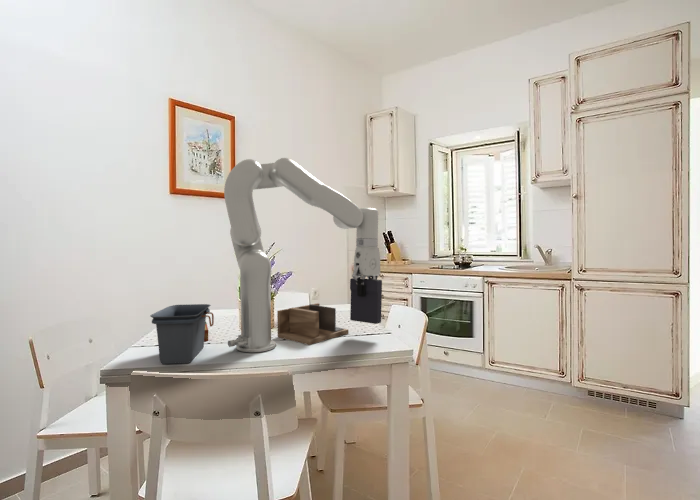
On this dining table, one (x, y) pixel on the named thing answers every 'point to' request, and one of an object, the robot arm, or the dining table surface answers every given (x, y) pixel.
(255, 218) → the robot arm
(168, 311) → the storage bin
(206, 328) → the green handled box
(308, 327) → the wooden desk organizer
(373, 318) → the black upright block
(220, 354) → the dining table surface
